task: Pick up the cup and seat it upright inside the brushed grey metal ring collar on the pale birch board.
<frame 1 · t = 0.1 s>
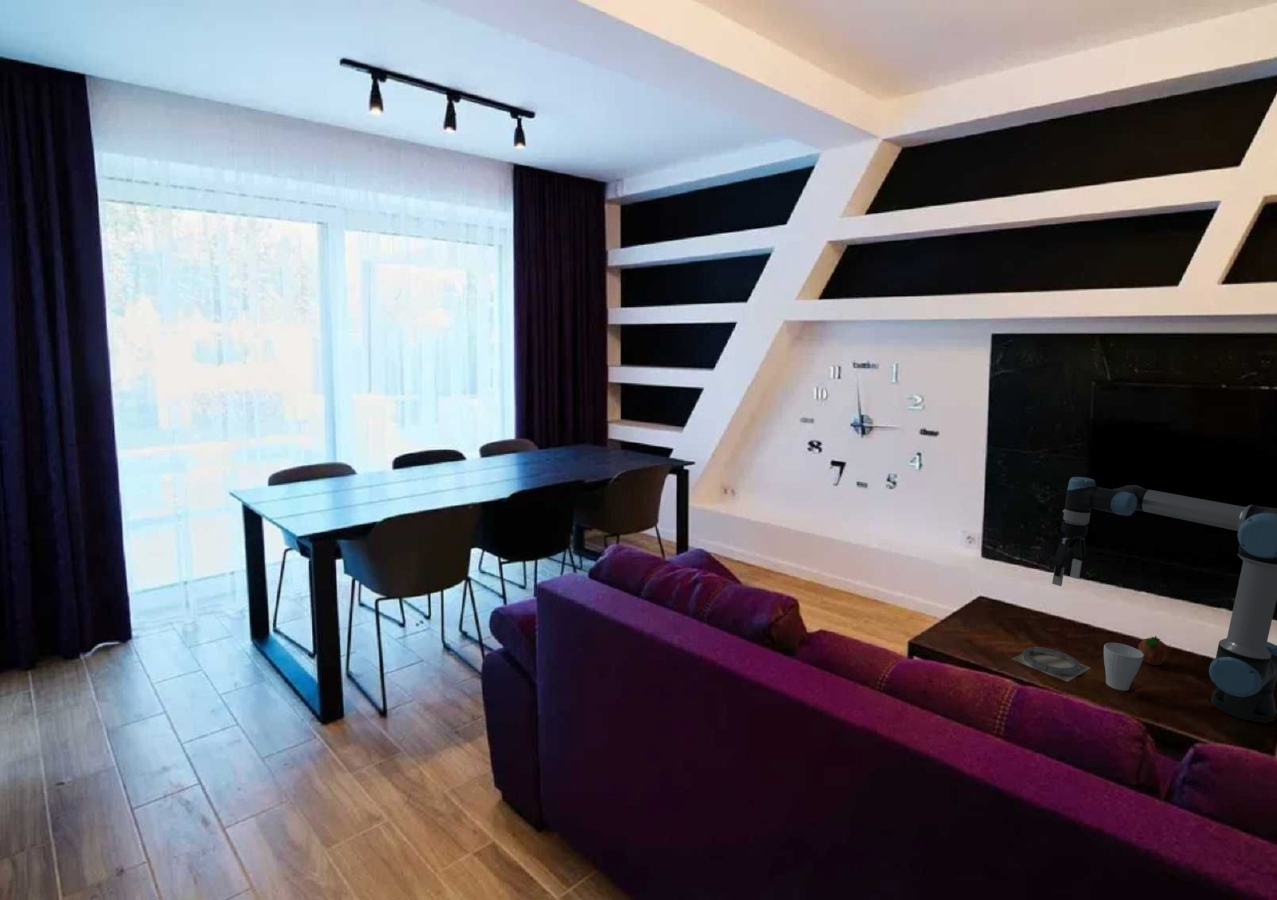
hand: (1065, 581, 239), 28 cm above the table, fingers open, 13 cm apart
ring collar: (1050, 663, 235), resting on board
board: (1050, 666, 236), on the table
cup: (1116, 689, 222), on the table
fruit: (1150, 663, 242), on the table
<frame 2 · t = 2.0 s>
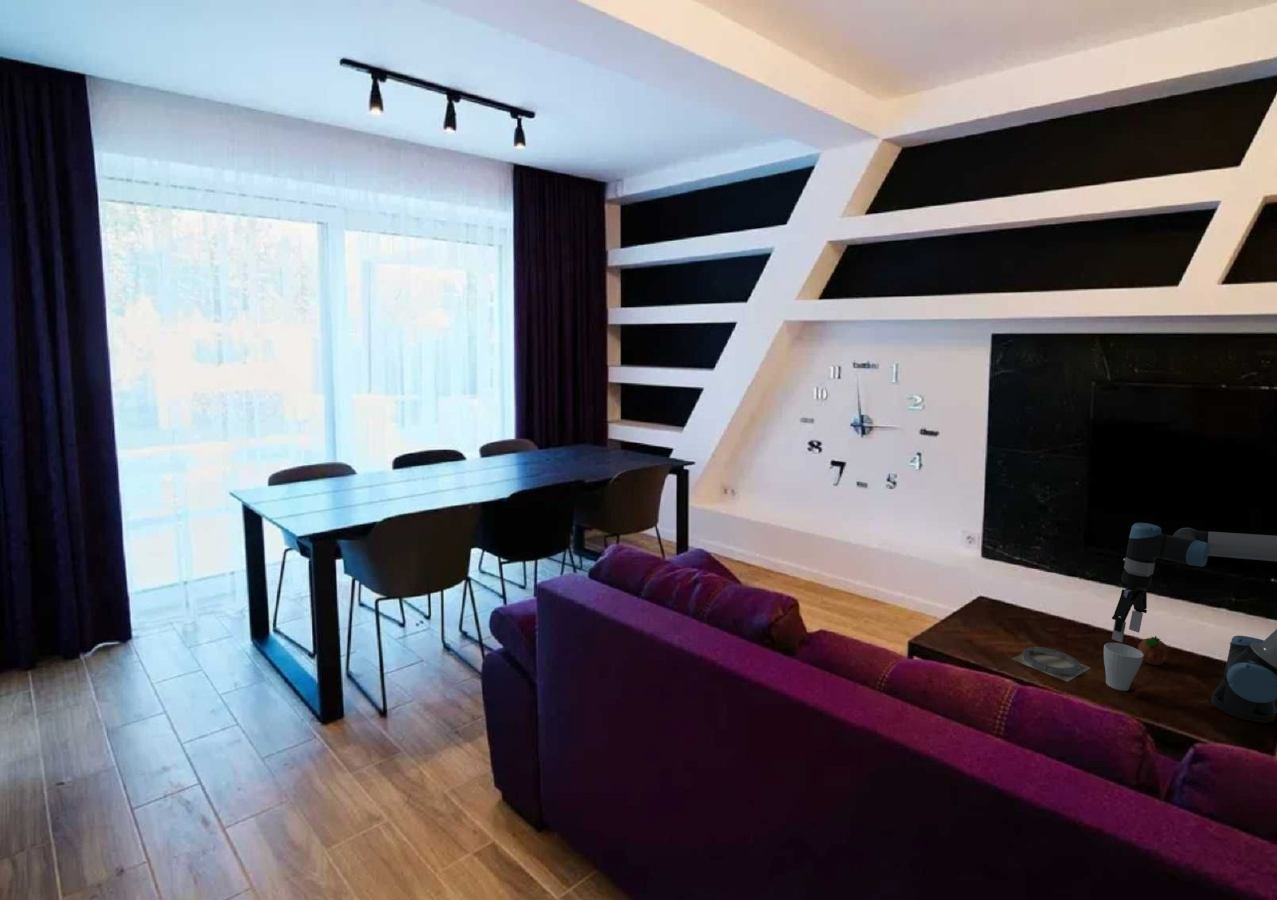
hand: (1125, 635, 219), 18 cm above the table, fingers open, 13 cm apart
nothing on the table moved.
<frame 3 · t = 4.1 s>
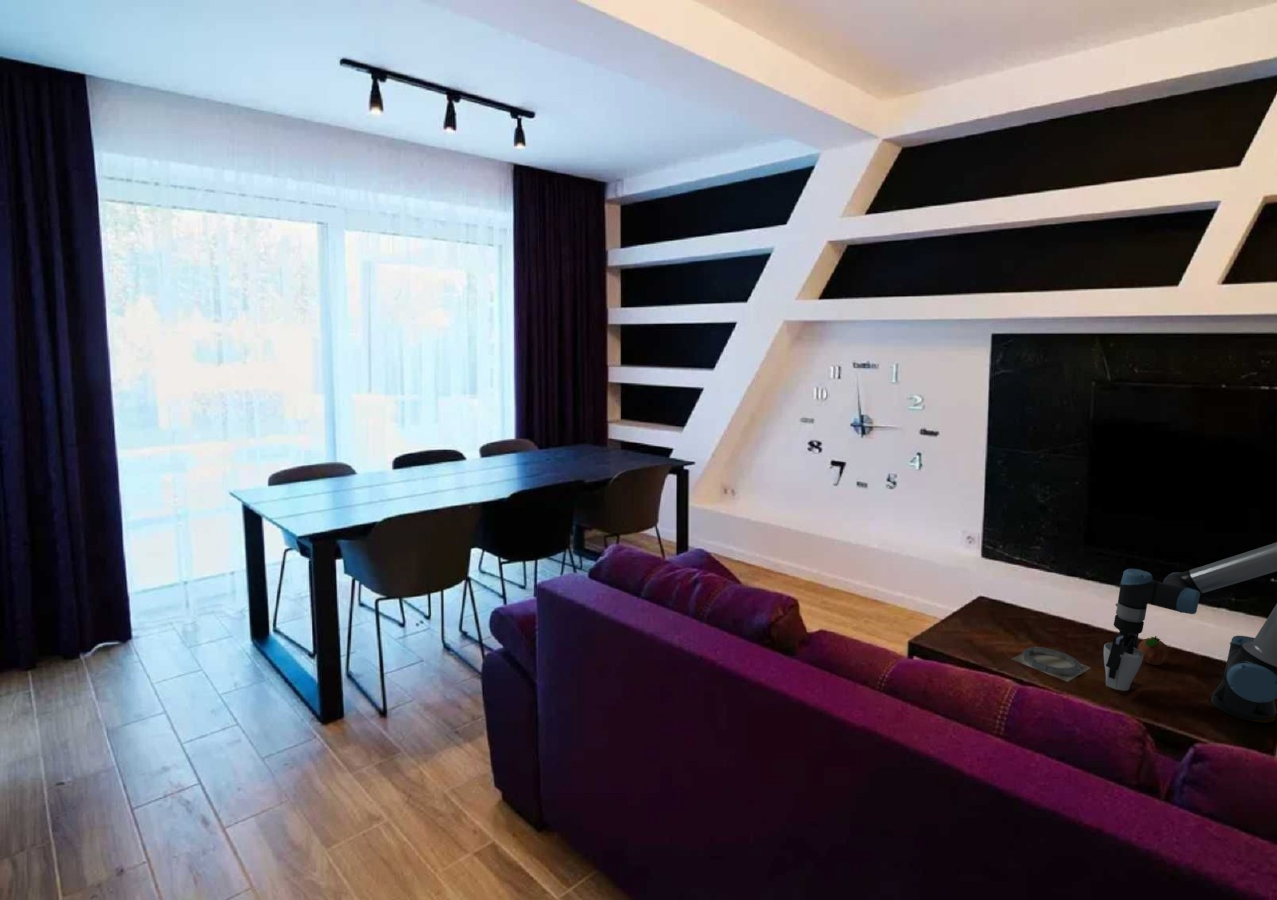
hand: (1117, 682, 222), 2 cm above the table, fingers closed on cup, 10 cm apart
cup: (1116, 689, 222), on the table, touching gripper
everything else where it was.
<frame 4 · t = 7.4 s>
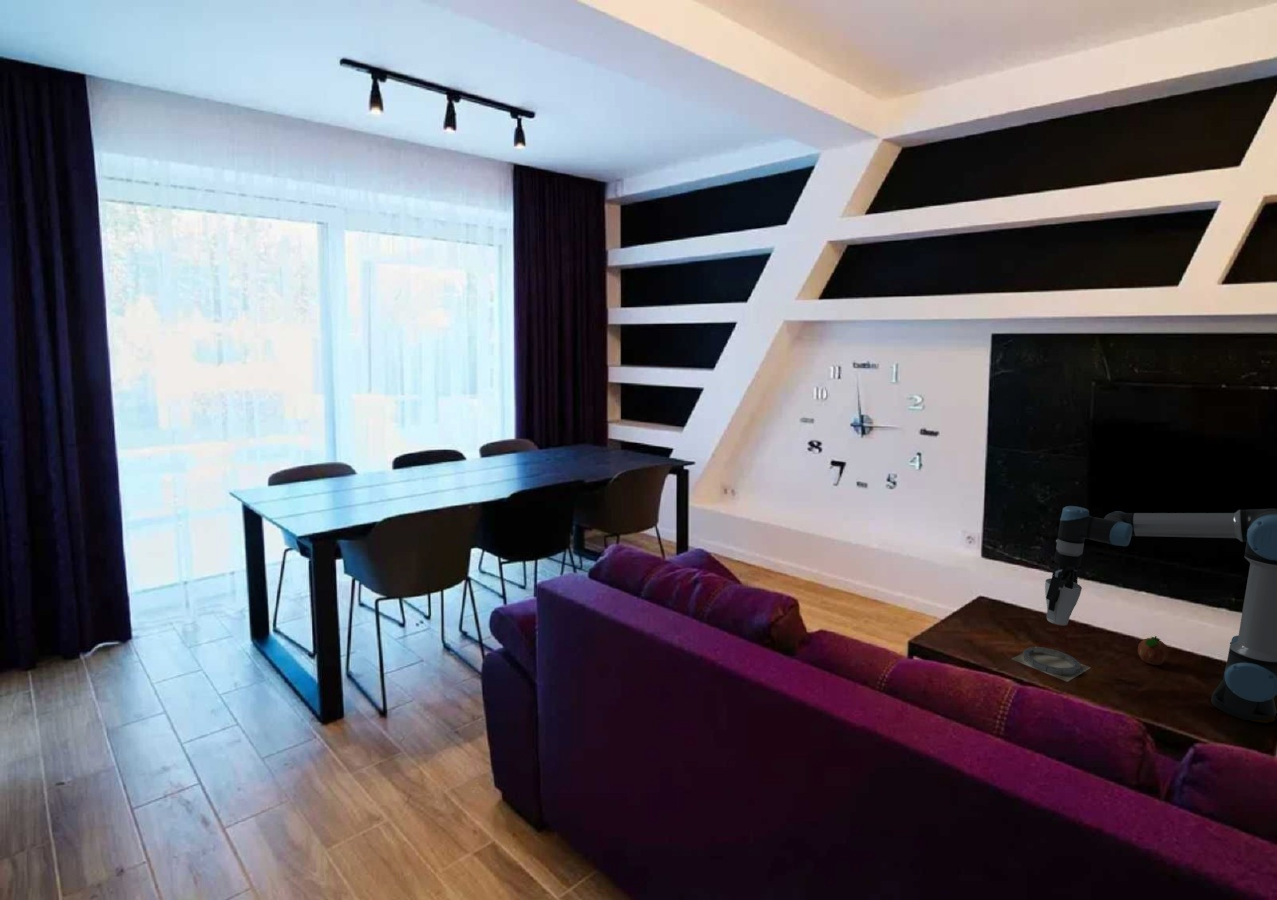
hand: (1058, 615, 232), 19 cm above the table, fingers closed on cup, 10 cm apart
cup: (1057, 622, 233), point 16 cm above the table, touching gripper
everything else where it was.
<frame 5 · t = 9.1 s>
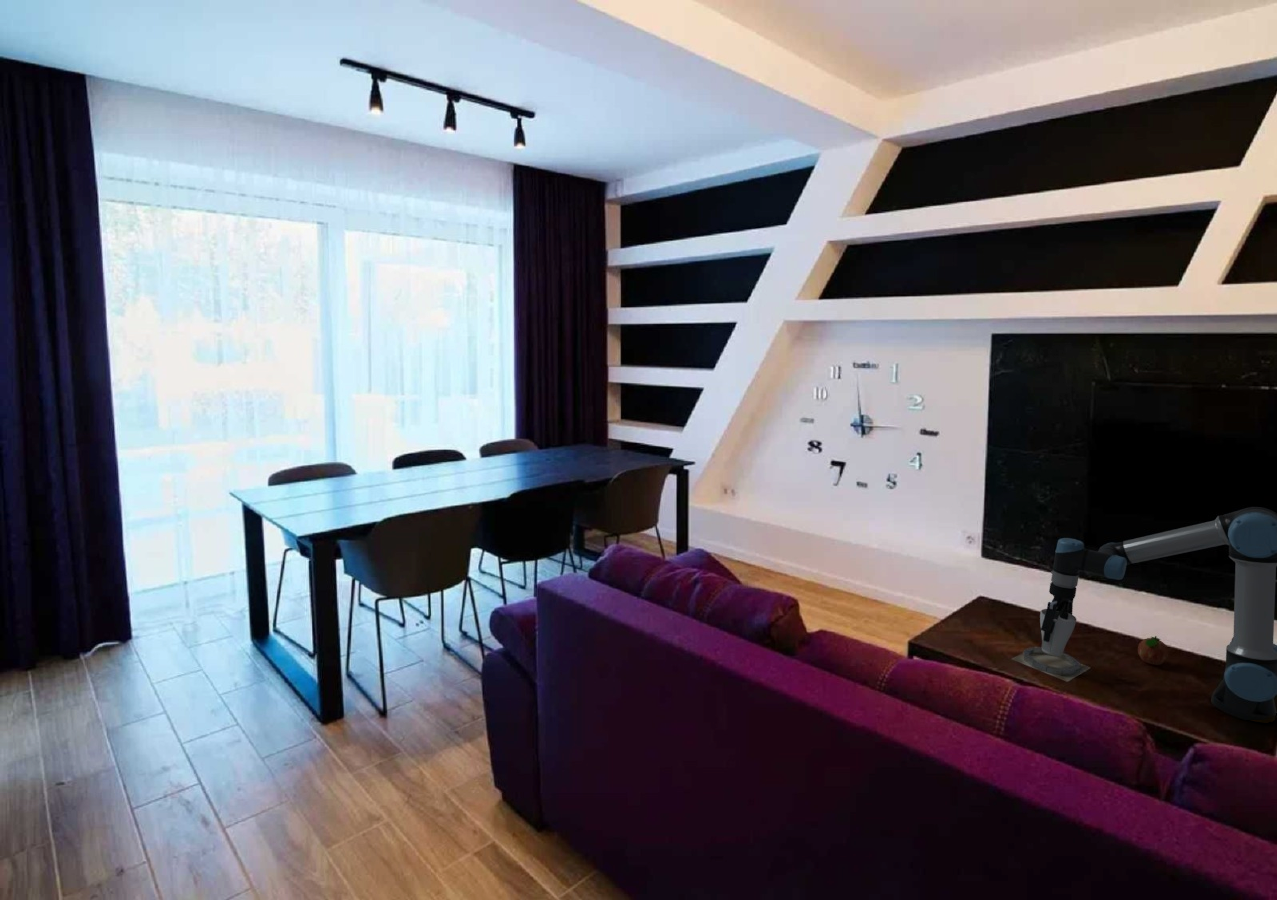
hand: (1053, 645, 234), 8 cm above the table, fingers closed on cup, 10 cm apart
cup: (1052, 652, 235), point 5 cm above the table, touching gripper
everything else where it was.
when the fingers open (5 cm above the table, at t = 10.6 s): cup drops 2 cm, resting on board.
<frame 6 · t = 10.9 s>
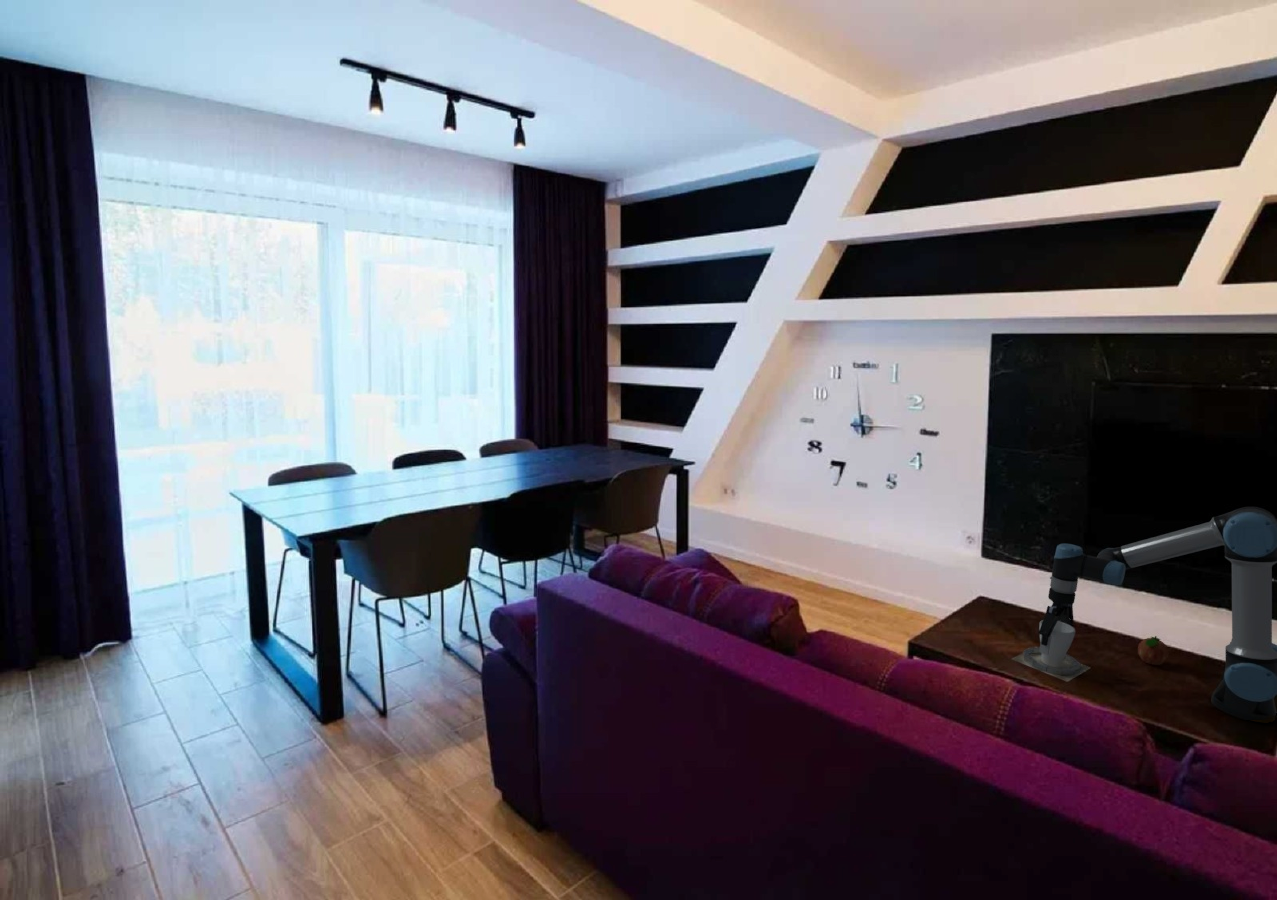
hand: (1053, 648, 234), 6 cm above the table, fingers open, 13 cm apart
cup: (1051, 663, 236), point 1 cm above the table, touching board
everything else where it was.
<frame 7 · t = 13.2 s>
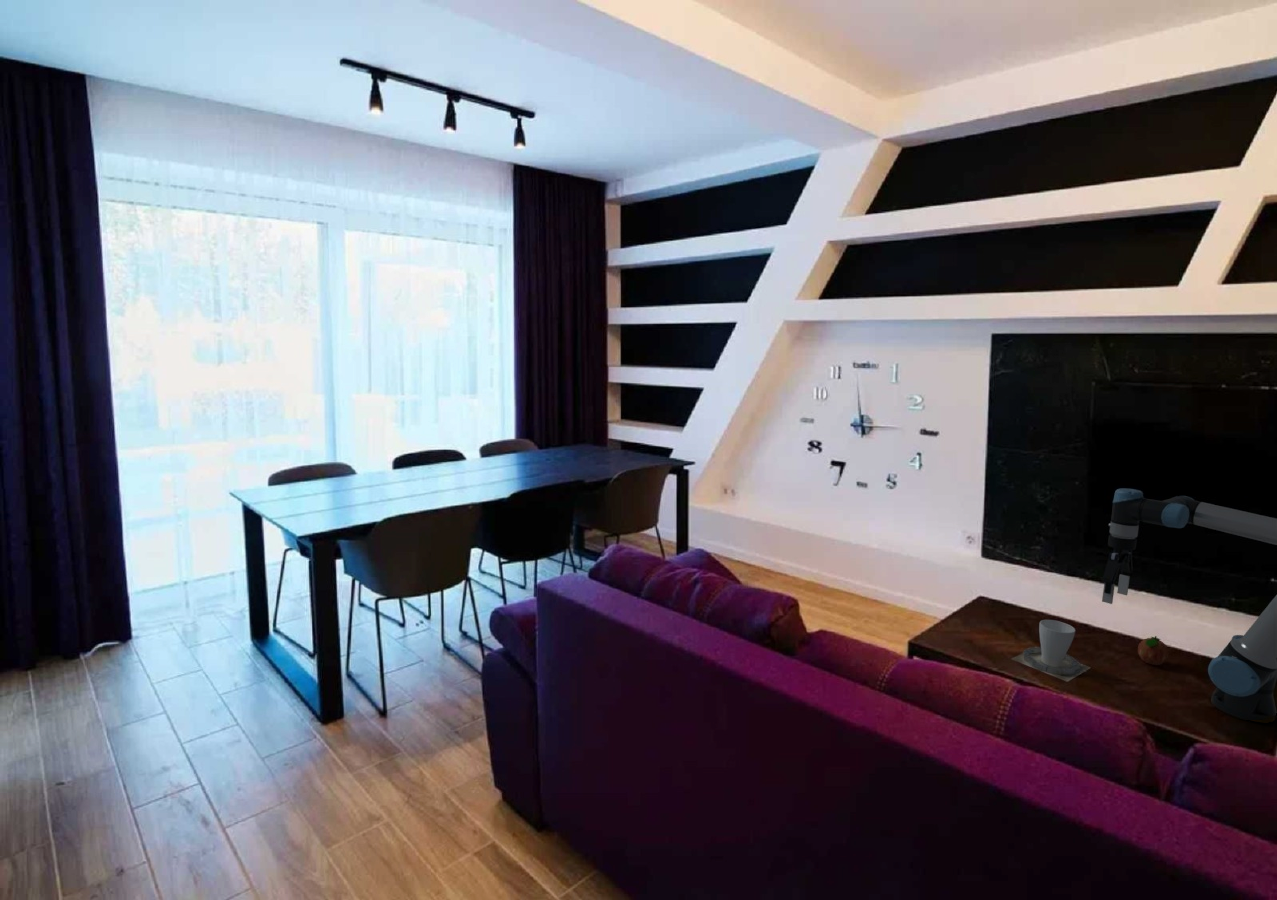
hand: (1114, 598, 227), 27 cm above the table, fingers open, 13 cm apart
nothing on the table moved.
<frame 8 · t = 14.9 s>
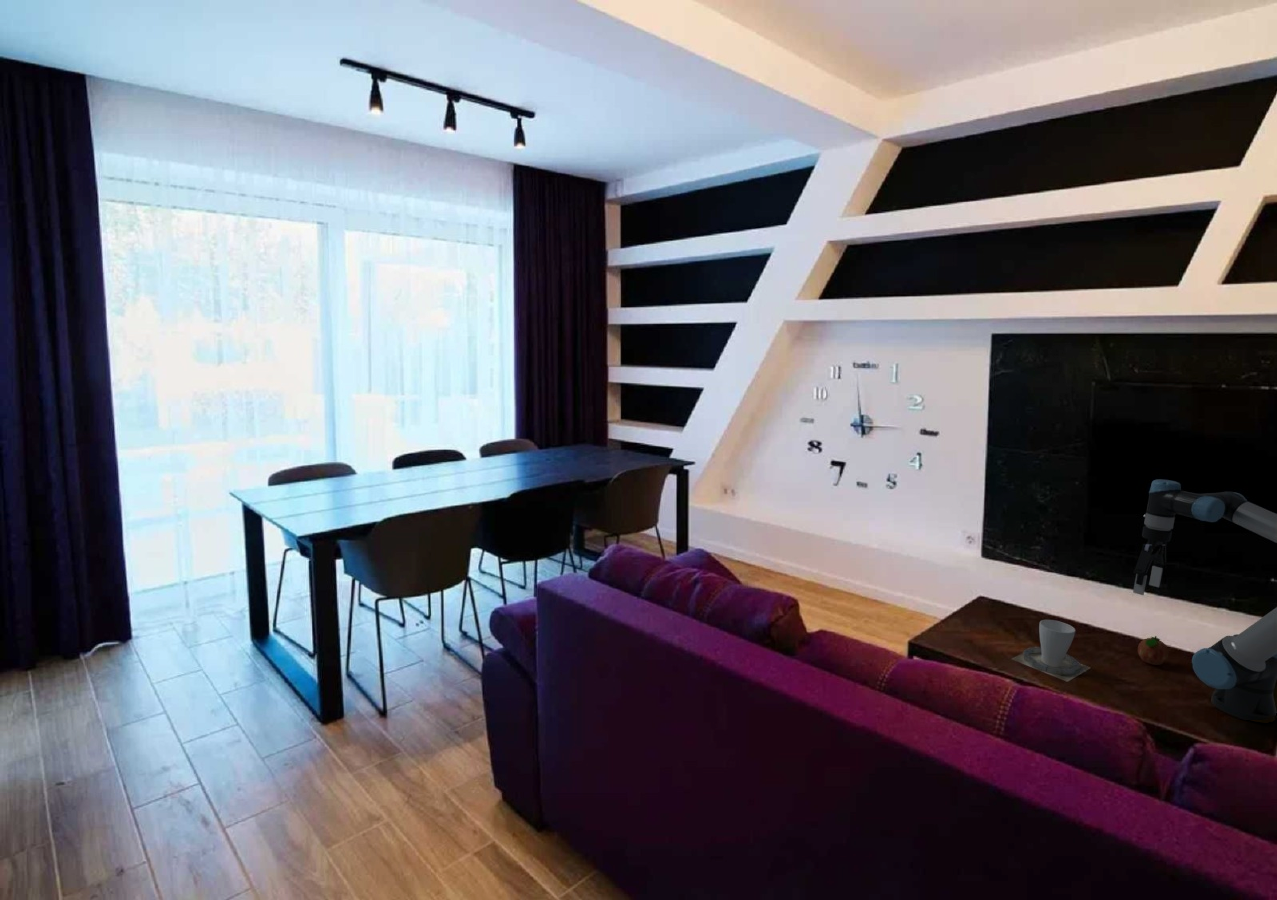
hand: (1146, 589, 226), 31 cm above the table, fingers open, 13 cm apart
nothing on the table moved.
at the end: cup 0.3 cm from the ring collar (horizontally); cup tilted 0°; the gripper is holding nothing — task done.
